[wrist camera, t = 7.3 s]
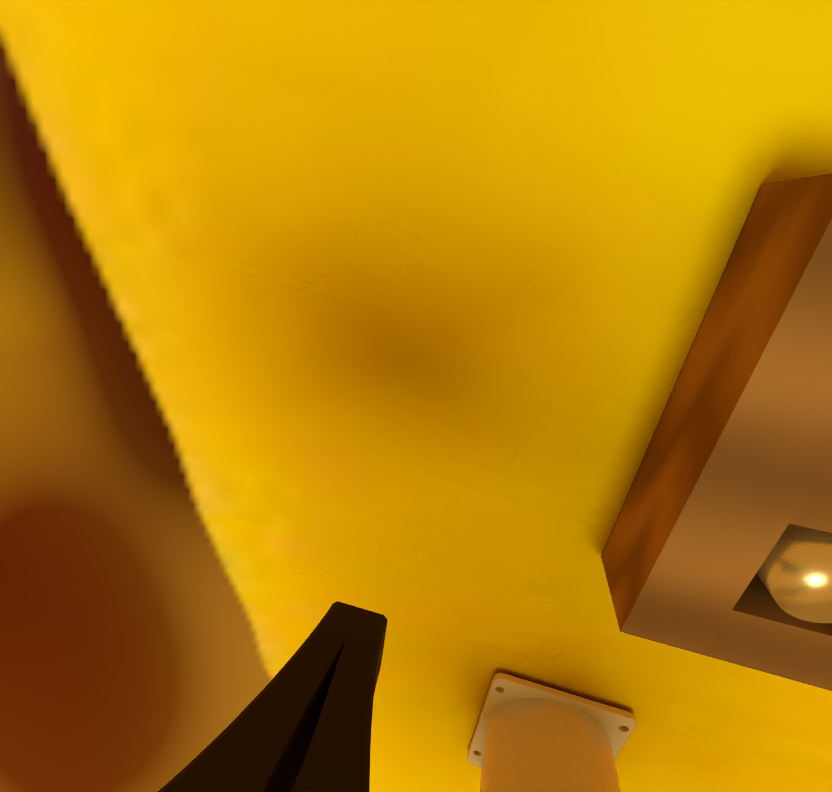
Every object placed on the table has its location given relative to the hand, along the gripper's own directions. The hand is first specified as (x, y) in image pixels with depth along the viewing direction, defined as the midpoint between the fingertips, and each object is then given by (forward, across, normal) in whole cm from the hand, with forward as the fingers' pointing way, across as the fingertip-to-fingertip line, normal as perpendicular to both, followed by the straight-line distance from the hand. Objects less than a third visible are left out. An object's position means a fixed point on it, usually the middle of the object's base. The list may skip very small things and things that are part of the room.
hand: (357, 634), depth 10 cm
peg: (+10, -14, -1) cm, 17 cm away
